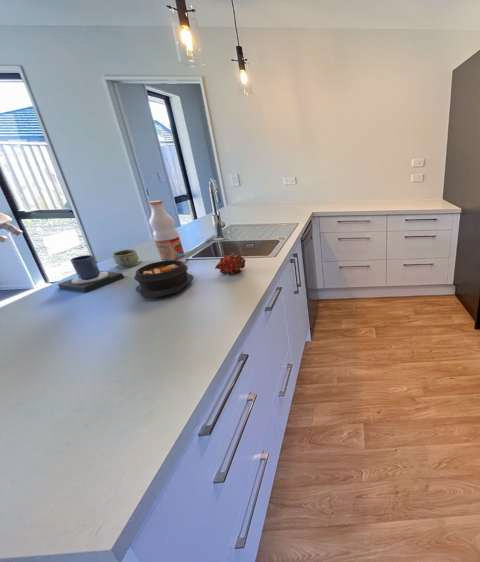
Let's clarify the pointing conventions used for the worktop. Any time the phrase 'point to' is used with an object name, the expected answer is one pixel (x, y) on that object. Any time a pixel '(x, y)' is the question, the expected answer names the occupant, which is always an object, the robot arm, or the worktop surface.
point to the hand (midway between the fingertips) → (13, 237)
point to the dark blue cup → (85, 267)
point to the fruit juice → (165, 233)
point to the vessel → (126, 258)
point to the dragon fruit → (231, 264)
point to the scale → (90, 282)
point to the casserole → (162, 278)
